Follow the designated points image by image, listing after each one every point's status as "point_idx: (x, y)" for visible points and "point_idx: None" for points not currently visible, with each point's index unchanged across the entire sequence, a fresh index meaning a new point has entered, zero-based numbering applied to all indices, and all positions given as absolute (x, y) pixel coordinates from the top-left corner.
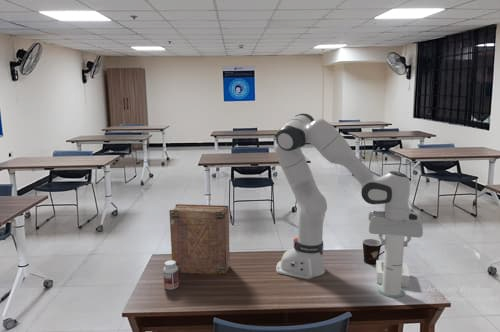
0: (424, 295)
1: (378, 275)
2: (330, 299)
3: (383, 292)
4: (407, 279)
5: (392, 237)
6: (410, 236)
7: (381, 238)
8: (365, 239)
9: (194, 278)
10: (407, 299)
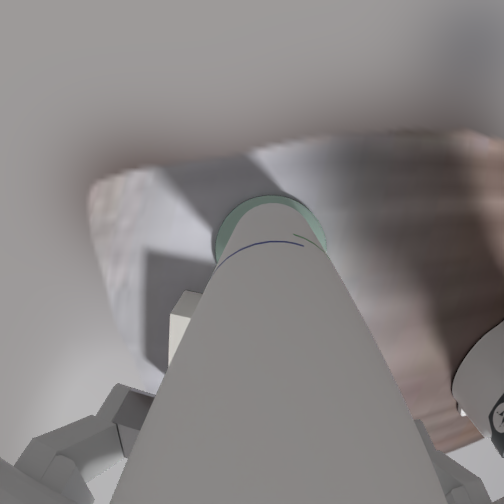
0: (139, 226)
1: None
2: (497, 178)
3: (312, 226)
4: (184, 306)
5: (412, 493)
6: (5, 468)
7: (449, 470)
8: None
9: None
10: (215, 184)
